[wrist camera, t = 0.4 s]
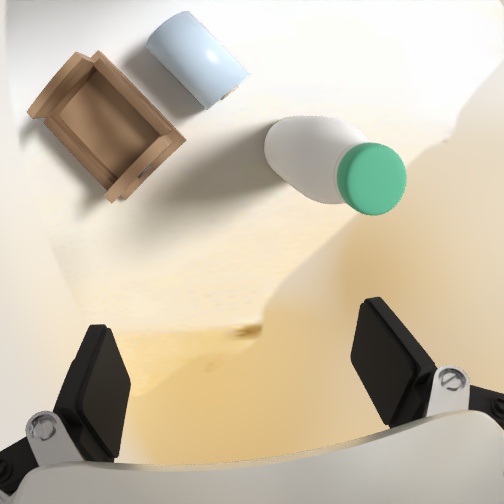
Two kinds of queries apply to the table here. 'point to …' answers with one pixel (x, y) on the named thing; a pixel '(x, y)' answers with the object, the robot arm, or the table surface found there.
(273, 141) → the milk bottle
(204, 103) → the cylinder
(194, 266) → the table surface
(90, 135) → the holder
